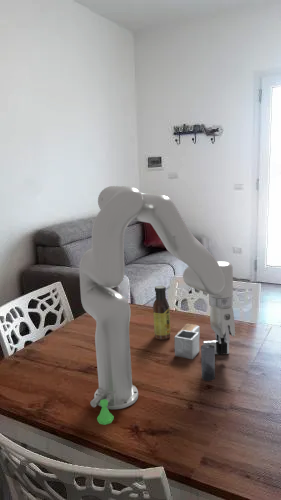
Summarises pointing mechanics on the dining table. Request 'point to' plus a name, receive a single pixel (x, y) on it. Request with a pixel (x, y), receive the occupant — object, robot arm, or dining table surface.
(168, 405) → the dining table surface
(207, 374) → the pin
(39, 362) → the dining table surface
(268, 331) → the dining table surface
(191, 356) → the hinge base
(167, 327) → the sauce bottle
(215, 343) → the leaf loose
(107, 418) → the game piece
